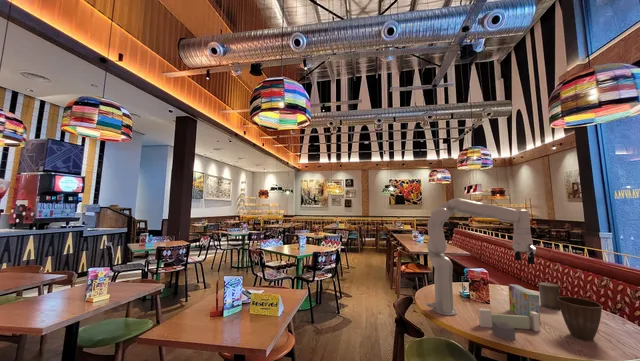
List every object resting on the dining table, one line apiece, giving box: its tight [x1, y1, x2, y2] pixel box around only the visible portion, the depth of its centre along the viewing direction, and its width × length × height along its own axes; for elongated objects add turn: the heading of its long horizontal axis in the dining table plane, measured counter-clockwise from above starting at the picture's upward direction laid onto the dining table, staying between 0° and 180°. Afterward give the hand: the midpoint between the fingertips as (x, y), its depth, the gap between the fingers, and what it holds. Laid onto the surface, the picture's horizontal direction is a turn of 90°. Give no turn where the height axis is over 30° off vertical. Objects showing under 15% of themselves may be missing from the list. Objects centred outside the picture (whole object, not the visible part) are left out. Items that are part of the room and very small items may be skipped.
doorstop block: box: [492, 322, 516, 341], centre depth 122 cm, size 6×7×5 cm
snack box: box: [507, 283, 541, 326], centre depth 145 cm, size 21×6×15 cm, turn 168°
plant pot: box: [558, 296, 603, 342], centre depth 122 cm, size 15×15×16 cm
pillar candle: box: [538, 281, 561, 311], centre depth 161 cm, size 10×10×15 cm
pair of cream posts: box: [477, 308, 541, 332], centre depth 131 cm, size 27×3×8 cm, turn 82°
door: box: [491, 313, 533, 330], centre depth 130 cm, size 18×2×6 cm, turn 82°
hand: (524, 262), depth 146 cm, fingers open, 9 cm apart
